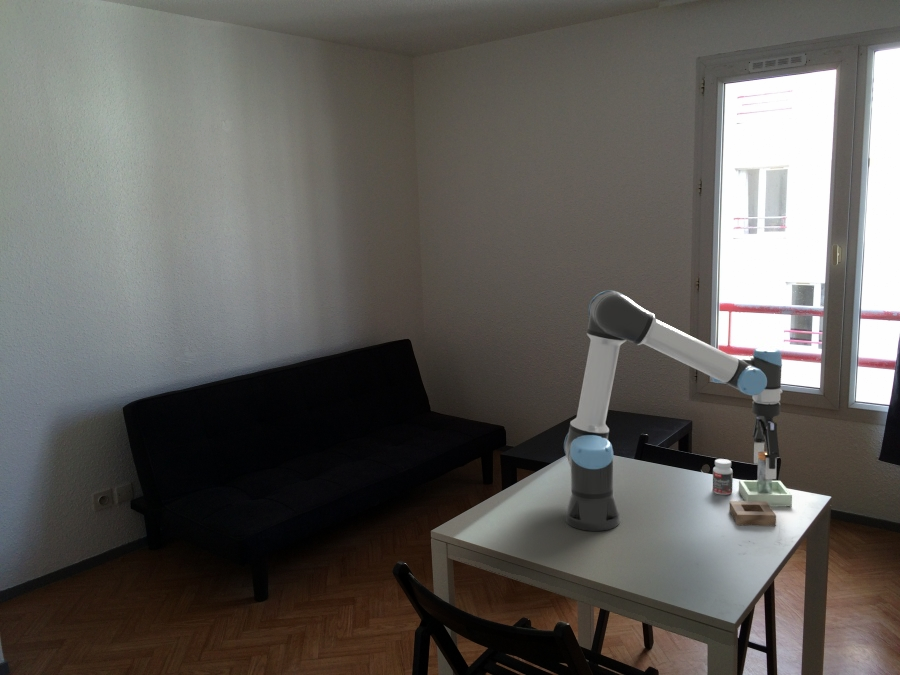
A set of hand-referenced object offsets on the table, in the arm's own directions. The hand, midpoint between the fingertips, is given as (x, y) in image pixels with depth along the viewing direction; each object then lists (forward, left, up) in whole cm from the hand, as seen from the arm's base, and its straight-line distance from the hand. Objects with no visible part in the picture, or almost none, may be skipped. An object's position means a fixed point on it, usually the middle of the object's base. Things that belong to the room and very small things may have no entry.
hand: (764, 470), depth 216 cm
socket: (-7, -15, -9) cm, 19 cm away
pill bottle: (-11, +5, -9) cm, 15 cm away
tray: (0, 0, -9) cm, 9 cm away
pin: (0, 0, -8) cm, 8 cm away
